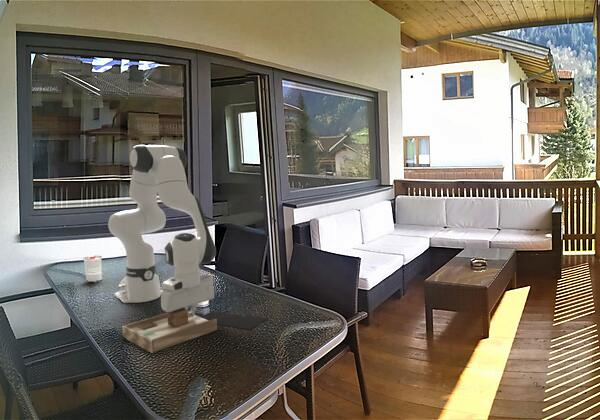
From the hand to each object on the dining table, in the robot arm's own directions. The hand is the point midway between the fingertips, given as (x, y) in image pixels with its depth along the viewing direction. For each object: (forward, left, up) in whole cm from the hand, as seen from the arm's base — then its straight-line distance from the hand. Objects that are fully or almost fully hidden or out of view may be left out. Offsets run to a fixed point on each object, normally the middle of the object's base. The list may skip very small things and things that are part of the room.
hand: (189, 317), depth 169 cm
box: (0, -8, -4) cm, 9 cm away
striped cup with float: (-92, +4, -4) cm, 92 cm away
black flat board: (+3, +13, -4) cm, 14 cm away
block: (0, -5, -1) cm, 5 cm away
